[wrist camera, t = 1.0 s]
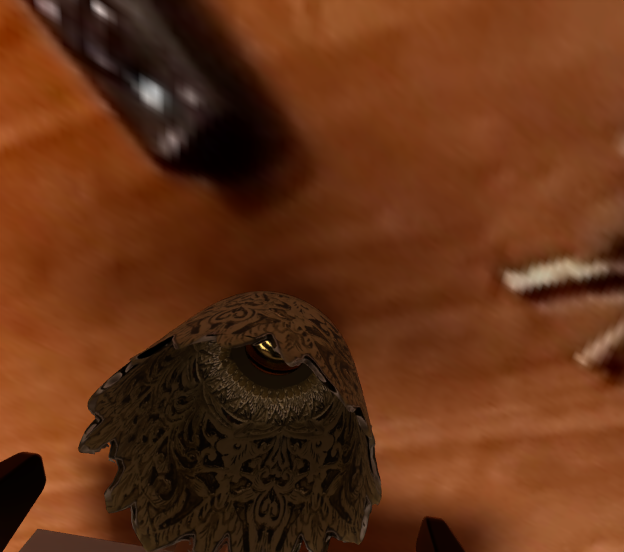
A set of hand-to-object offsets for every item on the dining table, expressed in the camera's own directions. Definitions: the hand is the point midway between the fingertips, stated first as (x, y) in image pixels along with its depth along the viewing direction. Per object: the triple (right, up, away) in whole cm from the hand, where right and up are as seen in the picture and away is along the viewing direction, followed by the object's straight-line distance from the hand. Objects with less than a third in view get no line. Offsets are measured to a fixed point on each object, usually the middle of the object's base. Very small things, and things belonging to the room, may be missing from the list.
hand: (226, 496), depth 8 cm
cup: (+1, +3, +8) cm, 9 cm away
